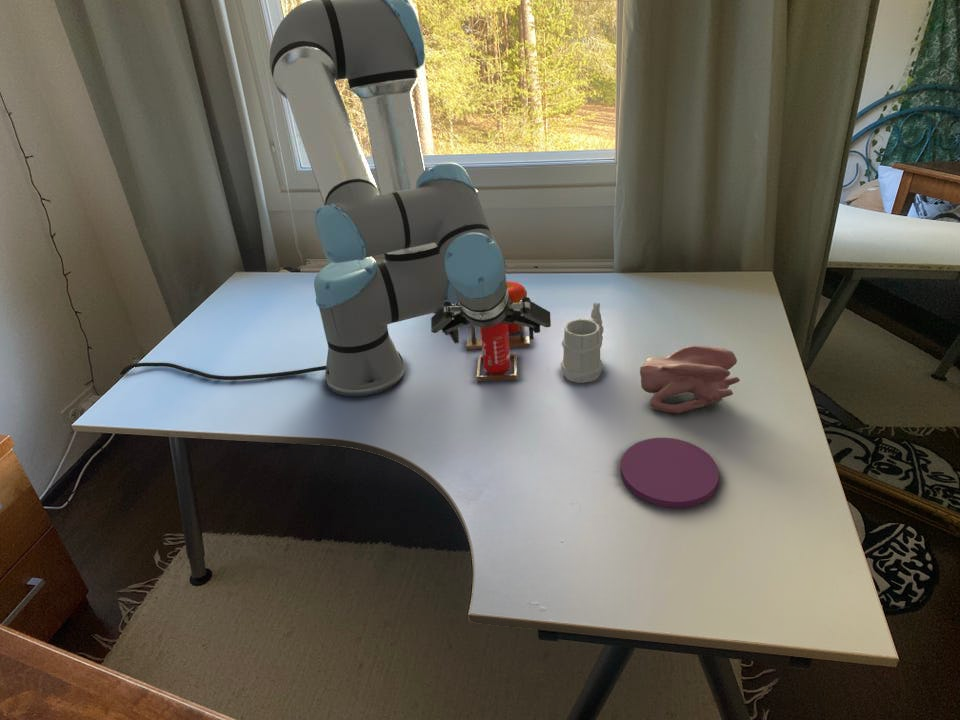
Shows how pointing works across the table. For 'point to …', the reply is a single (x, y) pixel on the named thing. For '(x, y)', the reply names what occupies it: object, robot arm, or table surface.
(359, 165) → the robot arm
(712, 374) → the figurine
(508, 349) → the beverage can
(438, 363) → the table surface
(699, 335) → the table surface
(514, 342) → the rack
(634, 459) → the lid
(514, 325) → the apple
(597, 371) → the mug
